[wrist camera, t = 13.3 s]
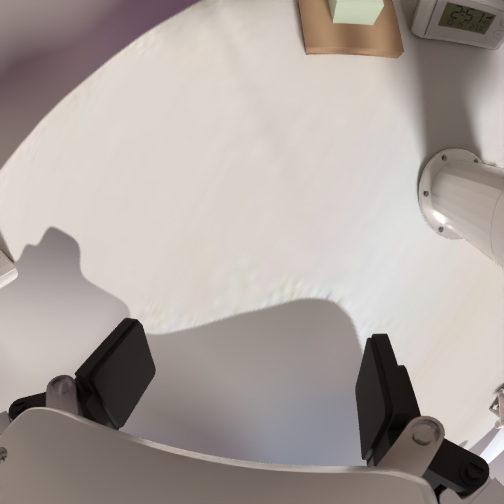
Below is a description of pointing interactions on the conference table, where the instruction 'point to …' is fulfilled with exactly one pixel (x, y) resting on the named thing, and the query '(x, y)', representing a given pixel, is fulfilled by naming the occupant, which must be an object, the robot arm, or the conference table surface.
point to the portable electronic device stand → (499, 410)
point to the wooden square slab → (349, 32)
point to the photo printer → (6, 270)
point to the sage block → (355, 11)
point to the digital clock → (461, 21)
